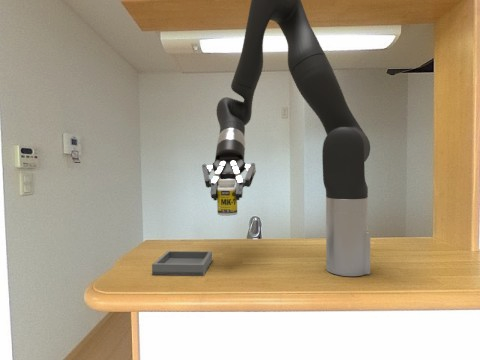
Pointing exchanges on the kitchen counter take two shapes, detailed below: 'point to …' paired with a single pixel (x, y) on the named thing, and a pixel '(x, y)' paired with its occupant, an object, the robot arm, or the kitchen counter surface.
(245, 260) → the kitchen counter surface
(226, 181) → the supplement bottle
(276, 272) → the kitchen counter surface
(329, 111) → the robot arm
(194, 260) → the tray
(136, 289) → the kitchen counter surface
